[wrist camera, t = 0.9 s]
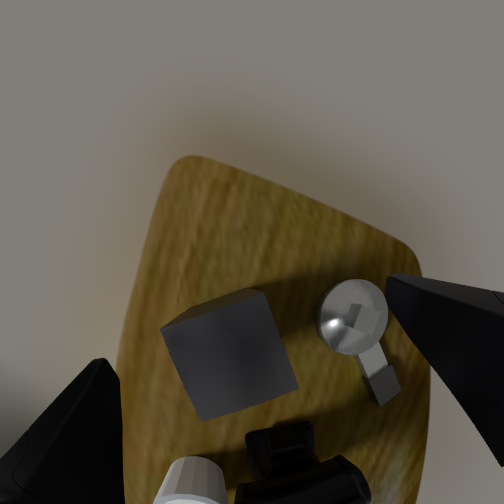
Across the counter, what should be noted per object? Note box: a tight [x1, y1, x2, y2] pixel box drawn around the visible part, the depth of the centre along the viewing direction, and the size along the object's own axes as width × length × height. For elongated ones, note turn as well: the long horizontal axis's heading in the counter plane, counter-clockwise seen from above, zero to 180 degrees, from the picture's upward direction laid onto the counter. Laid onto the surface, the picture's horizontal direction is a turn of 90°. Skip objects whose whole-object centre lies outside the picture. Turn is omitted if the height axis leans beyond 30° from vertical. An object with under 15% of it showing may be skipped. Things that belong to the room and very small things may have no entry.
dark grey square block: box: [160, 288, 299, 421], centre depth 18 cm, size 5×5×11 cm
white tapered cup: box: [153, 456, 229, 504], centre depth 18 cm, size 7×7×7 cm
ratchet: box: [315, 279, 402, 407], centre depth 22 cm, size 13×7×4 cm, turn 28°
